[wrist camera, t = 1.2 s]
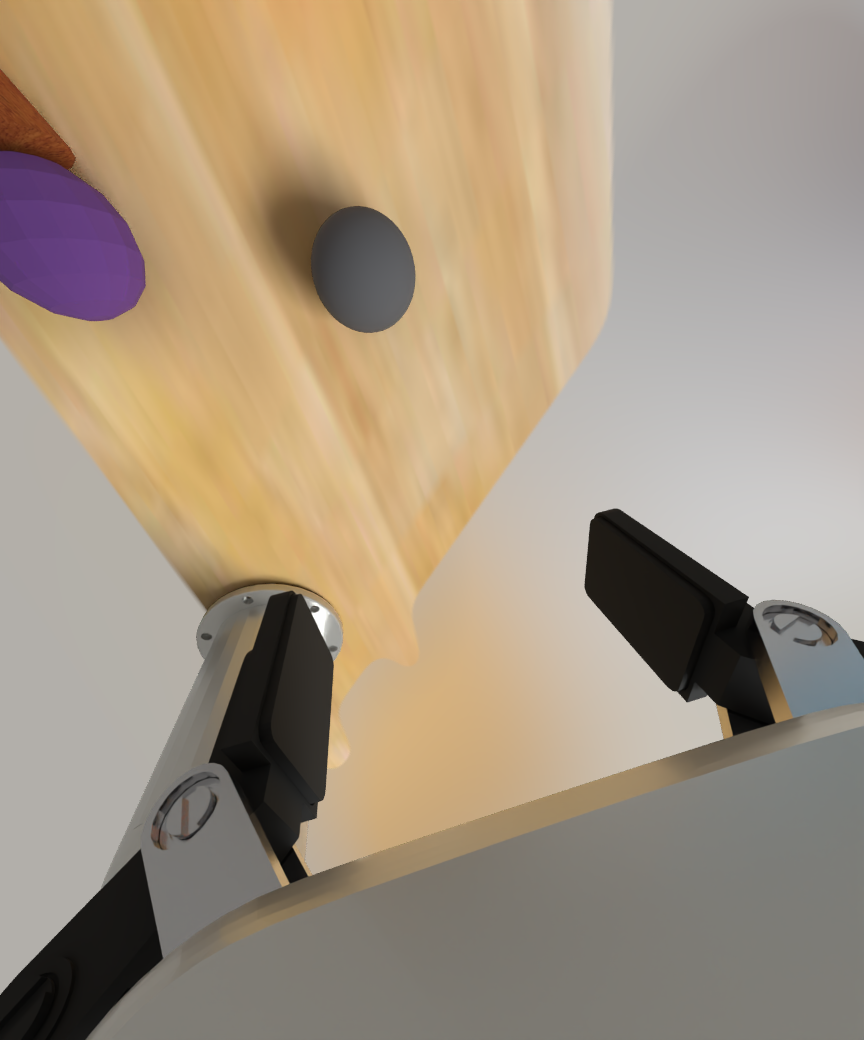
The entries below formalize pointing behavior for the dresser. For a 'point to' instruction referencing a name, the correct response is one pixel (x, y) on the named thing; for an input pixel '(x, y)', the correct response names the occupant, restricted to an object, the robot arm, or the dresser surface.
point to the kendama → (59, 224)
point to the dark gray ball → (363, 269)
